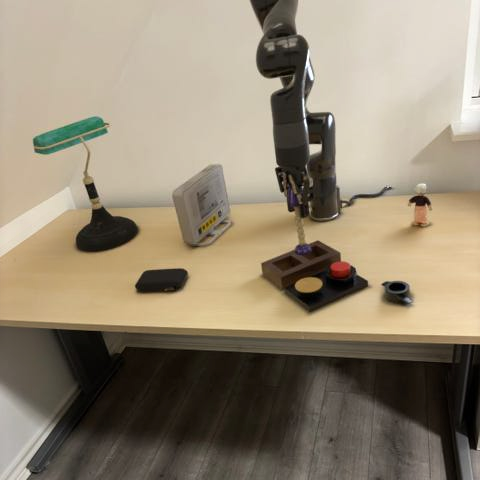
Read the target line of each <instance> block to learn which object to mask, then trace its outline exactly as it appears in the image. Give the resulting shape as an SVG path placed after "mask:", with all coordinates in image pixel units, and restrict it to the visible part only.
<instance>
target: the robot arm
mask: <svg viewBox="0 0 480 480" xmlns="http://www.w3.org/2000/svg"><path fill="white" fill-rule="evenodd" d="M249 3H250V6H251V9H252V11H253V13H254V16H255V18H256V21H257V23H258V25H259V27H260V30H261V32H262V34H263V35H262V37H261V38H260V39H259V42H258V44H257V48H256V51H255V52H256V53H255V65H256V66H255V67H256V69H257V71H258V73H259V74H260V76H262V77H263V78H264V79H268V80H273V79H274V80H275V79H278V78H279V80H280V83H281V85H282V87H281V88H279V89H277V90H275V91H273V92H272V93H271V95H270V98H269V103H270V111H271V120H272V137H273V147H274V155H275V156H274V157H275V163H276V165H277V166H276V167H274V173H275V176H276V181H277V184H278V187H279V191H280V193H281V194H283V196H284V197H285V198H286V200H287V199H288V190H289V187H290V186H292V187H293V191H294V194H296V195H297V198H298V202H299V213H300V218H302V219H303V220H304V219H306V218H309V217H310V219H311V220H314V221H317V222H327V221H331V220H334V219H336V218H337V217H338V216H339V215H341V213H342V211H341V210H342V209H343V204H346V205H348V206H350V205H352V204H353V203H354V199H357V198H361V197H362V198H363V197H364V198H374V197H379V196H380V195H382V194H383V193H384V192H385V191H386V190H387V189H389V190H392V189H393V187H392V186H391V187H389V188H387V187H385V186H384V187H383V188H382V190H380V191H379V192H377V193H357V194H356V195H353V196H352V197H351V198H350V201H348V200H345V199H344V200H343V199H341V192H340V191H341V189H340V186H339V185H338V184H337V183H338V182H337V167H336V155H337V147H336V142H337V141H336V136H337V134H336V131H337V129H336V126H337V125H336V119H335V115H334V114H333V113H332V112H331V111H317V112H315V111H314V112H310V111H309V109H308V105H307V102H308V98H309V96H310V94H311V93H312V89H313V86H314V84H315V70H314V67H313V64H312V61H311V58H310V46H309V42H308V41H307V39H306V38H305V37H304V35H302V34H298V31H297V25H296V18H297V14H298V8H299V0H249ZM310 145H313V146H314V145H317V146H318V145H321V146H320V147H321V149H320V150H319V151H316V152H314V153H312V154H311V152H310ZM299 187H302V189H299V190H298V188H299ZM302 192H303V198H302V196H301V193H302ZM286 205H287V212H289V213H295V209H294V207H293V206H289V205H288V204H287V203H286Z"/></svg>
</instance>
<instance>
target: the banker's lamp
mask: <svg viewBox="0 0 480 480" xmlns="http://www.w3.org/2000/svg"><path fill="white" fill-rule="evenodd" d="M111 126H112V124H111V123H110V122H104V119H103V118H102V117H100V116H98V115H95V116H91V117H87V118H84V119H81V120H78V121H76V122H72V123H70V124H67V125H64V126H61V127H57V128H55V129H52V130H49V131H46V132H43V133H40V134H38V135H36V136H34V137H33V138H32V144H33V150H34V154H35V153H36V154H39V155H43V156H47V155H52V154H55V153H57V152H60V151H63V150H66V149H68V148H71V147H74V146H76V145H80V144H83V146H84V147H85V148H86V151H87V158H86V163H85V167H84V171H83V175H84V176H83V179H82V183H83V185H84V187H85V190H86V193H87V196H88V200H89V202H90V203H91V217H90V222H89V223H87V224H86V225H84V226H83V227H82V228H81V229H80V230H79V231H78V233H77V234H76V237H75V245H76V247H77V249H78V250H80V251H83V252H89V253H91V252H92V253H94V252H103V251H108V250H112V249H114V248H117V247H120V246H122V245H124V244H126V243H128V242H130V241H131V240H132V239H133V238H134V237H135V236H137V234H138V232H139V228H138V225H137V223H136V222H135V221H134V220H133V219H131V218H129V217H126V216H121V215H112V214H111V213H110V212H109V211H108V210H107V209H106V208H105V207H104V205H103V203H102V202H100V200H101V199H100V196H99V193H98V190H97V188H96V184H95V181H94V178H93V177H92V176H89V172H88V169H89V164H90V159H91V150H90V148H89V146H88V145H87V143H86V142H88V141H90V140H93V139H95V138H98V137H101V136H104V135H106V134H108V131H109V130H108V128H110V127H111Z"/></svg>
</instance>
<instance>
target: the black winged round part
mask: <svg viewBox="0 0 480 480" xmlns="http://www.w3.org/2000/svg"><path fill="white" fill-rule="evenodd" d="M380 285H381V286H382V287H384V300H385V301H387V303H391V304H404V303H406V304H412V303H415V301H414V300H413V299H411V298H410V294H411V293H410V292H411V289H410V288H411V286H410V284H409V283H408V282H406V281H402V280H393V281H392V280H391V281H388V280H387V281H384V282H382V283H381V284H380Z"/></svg>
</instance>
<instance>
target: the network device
mask: <svg viewBox="0 0 480 480" xmlns="http://www.w3.org/2000/svg"><path fill="white" fill-rule="evenodd" d="M223 168H224V167H223V166H222V164H220V163H219V164H218V163H216V164H213V163H210V164H209V165H207V166H206V167H205V168H203V169H201V170H200V171H198V172H197V173H196V174H194V175H193V176H192V177H190V178H189V179H188V180H186V181H184V182H183V183H181V184H180V185H179V186H177V187H176V188H174V189H173V191H172V193H171V197H172V201H173V206H174V209H175V214H176V217H177V223H178V225H179V229H180V234H181V237H182V241H183V244H188V245H190V246H194V247H206V246H209V245H211V244H212V243H213V242H215V241H216V240H217V238H219V237H220V236H221V235H222V234H223V233H224V232H225V231H226V230H227V229H228V228H229V227H231V225H232V221H231V220H229V219H226V218H227V217H228V216H229V215H230V213H231V207H230V200H229V196H228V191H227V184H226V179H225V174H224V169H223ZM219 224H225V226H224V227H222V228H220V229H215V228H216V227H217V226H218V225H219ZM206 236H212V238H210V239H209V240H208V241H207V242H200V241H201V240H202V239H203V238H205V237H206Z"/></svg>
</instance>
